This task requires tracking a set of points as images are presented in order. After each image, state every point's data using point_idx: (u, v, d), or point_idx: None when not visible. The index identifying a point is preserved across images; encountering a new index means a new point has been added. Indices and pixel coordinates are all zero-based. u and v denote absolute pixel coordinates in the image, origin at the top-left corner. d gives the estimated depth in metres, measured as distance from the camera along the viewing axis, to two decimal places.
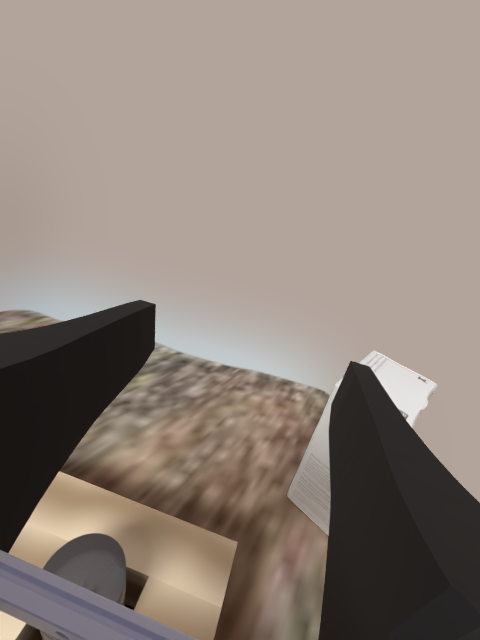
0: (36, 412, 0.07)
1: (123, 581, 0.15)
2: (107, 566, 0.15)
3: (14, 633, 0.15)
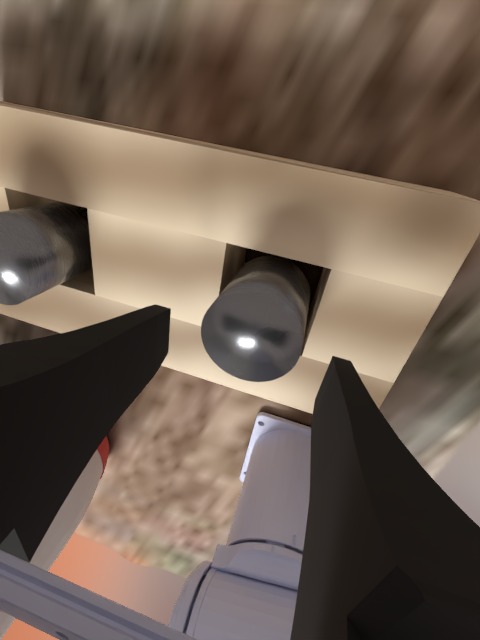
0: (59, 420, 0.07)
1: (301, 342, 0.11)
2: (274, 330, 0.11)
3: None
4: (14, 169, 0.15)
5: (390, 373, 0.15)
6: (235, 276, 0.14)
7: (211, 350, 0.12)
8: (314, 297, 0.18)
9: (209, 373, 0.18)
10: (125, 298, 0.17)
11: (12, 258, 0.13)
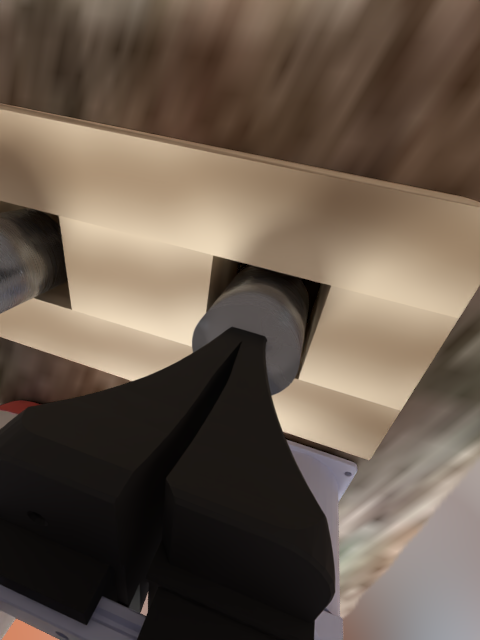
0: None
1: (299, 357, 0.10)
2: (269, 344, 0.10)
3: None
4: None
5: (397, 400, 0.13)
6: (229, 284, 0.13)
7: None
8: (312, 311, 0.17)
9: None
10: (104, 313, 0.15)
11: None
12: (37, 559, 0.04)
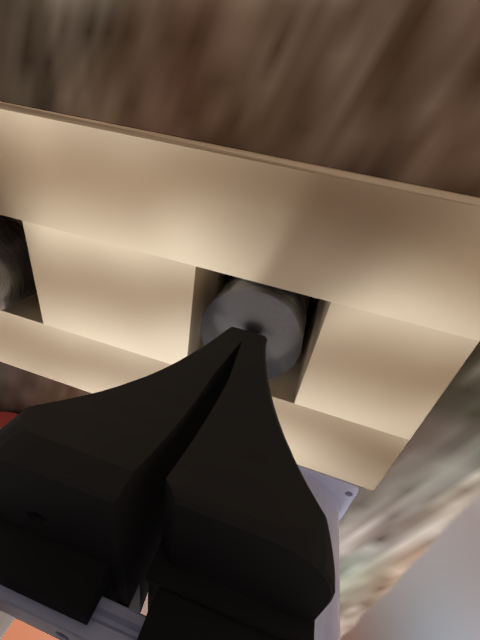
0: None
1: (301, 340, 0.11)
2: (274, 327, 0.11)
3: (182, 357, 0.13)
4: None
5: (405, 429, 0.12)
6: None
7: None
8: (310, 324, 0.15)
9: None
10: (79, 328, 0.14)
11: None
12: (37, 559, 0.04)
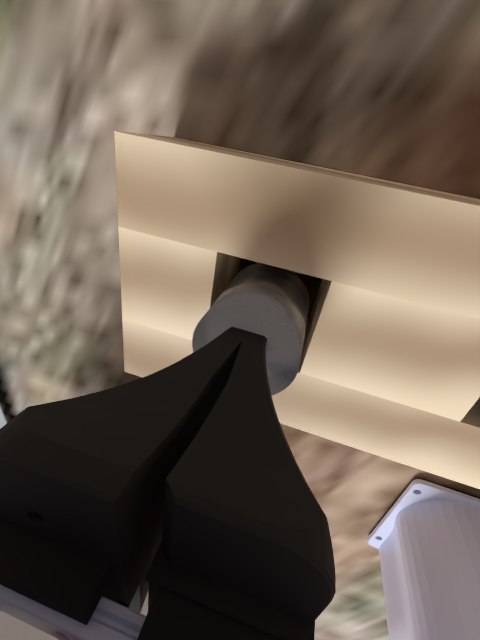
0: None
1: None
2: None
3: (462, 411, 0.13)
4: (240, 232, 0.12)
5: None
6: None
7: None
8: None
9: (429, 464, 0.15)
10: (343, 379, 0.14)
11: (283, 352, 0.10)
12: (37, 559, 0.04)
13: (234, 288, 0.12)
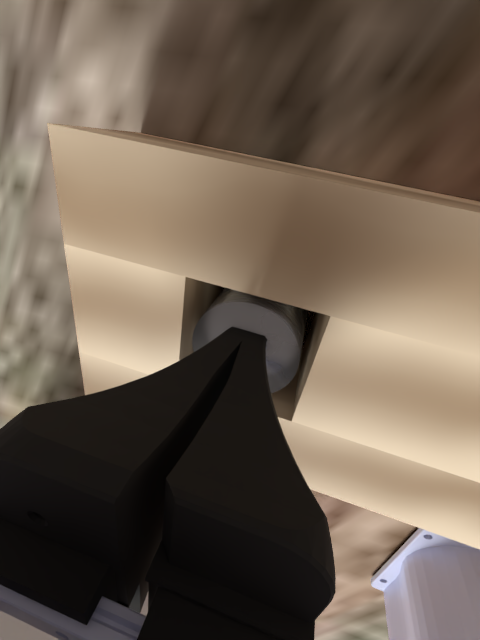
0: None
1: None
2: None
3: None
4: (213, 253, 0.09)
5: None
6: None
7: None
8: None
9: (449, 529, 0.12)
10: (345, 430, 0.11)
11: (283, 349, 0.10)
12: (37, 559, 0.04)
13: None
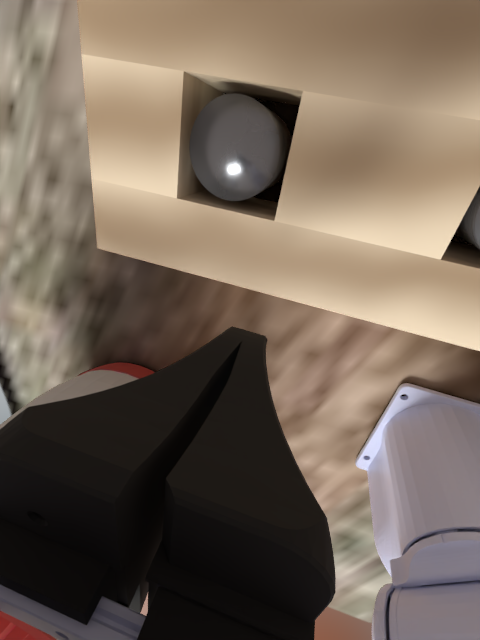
0: None
1: None
2: None
3: (442, 245, 0.12)
4: (206, 40, 0.11)
5: None
6: None
7: None
8: None
9: (410, 321, 0.14)
10: (319, 222, 0.13)
11: (265, 140, 0.12)
12: (37, 559, 0.04)
13: None
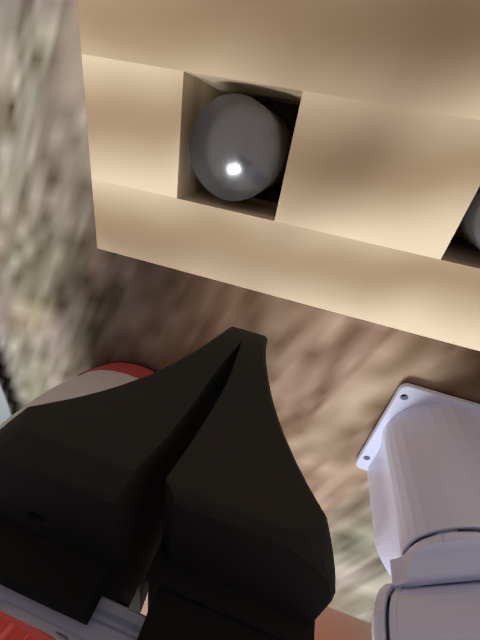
0: None
1: None
2: None
3: (442, 245, 0.12)
4: (206, 40, 0.11)
5: None
6: None
7: None
8: None
9: (410, 321, 0.14)
10: (319, 222, 0.13)
11: (265, 140, 0.12)
12: (37, 559, 0.04)
13: None
